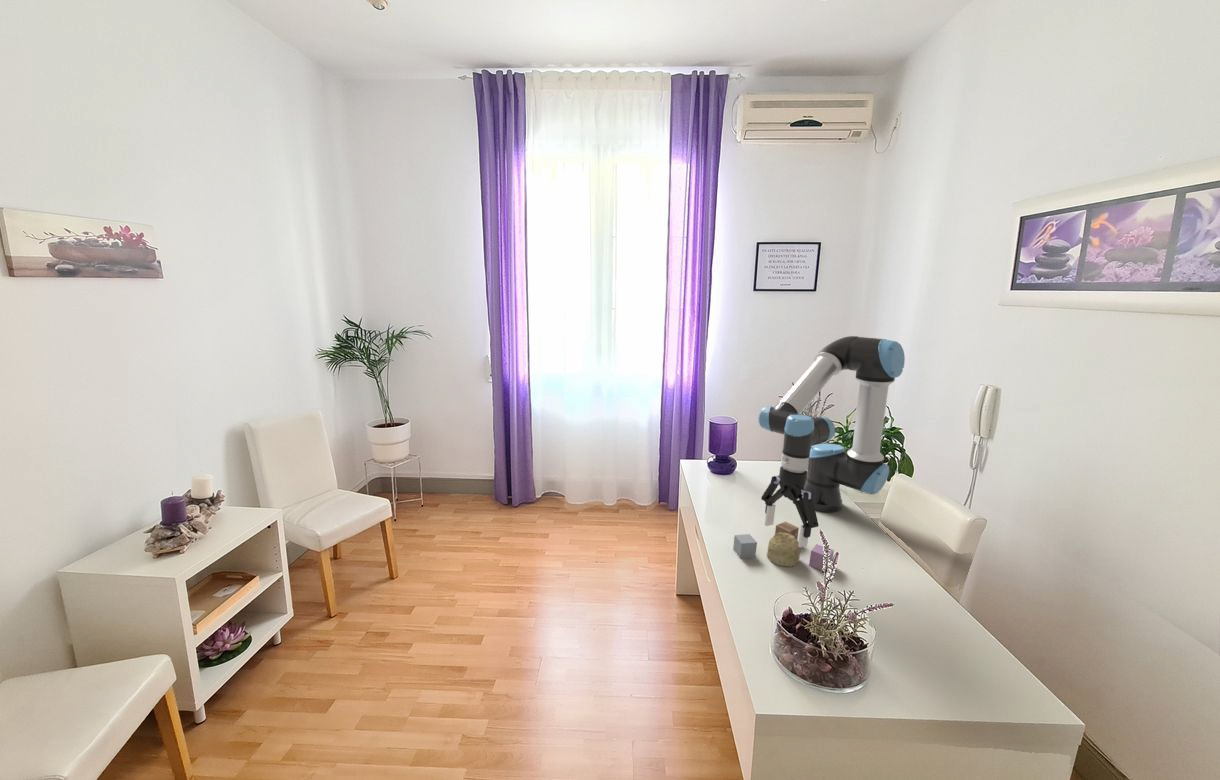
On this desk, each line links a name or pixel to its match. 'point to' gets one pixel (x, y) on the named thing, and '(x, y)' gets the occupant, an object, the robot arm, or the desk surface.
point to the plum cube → (818, 556)
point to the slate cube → (745, 546)
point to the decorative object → (783, 549)
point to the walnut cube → (787, 529)
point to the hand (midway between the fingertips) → (785, 535)
